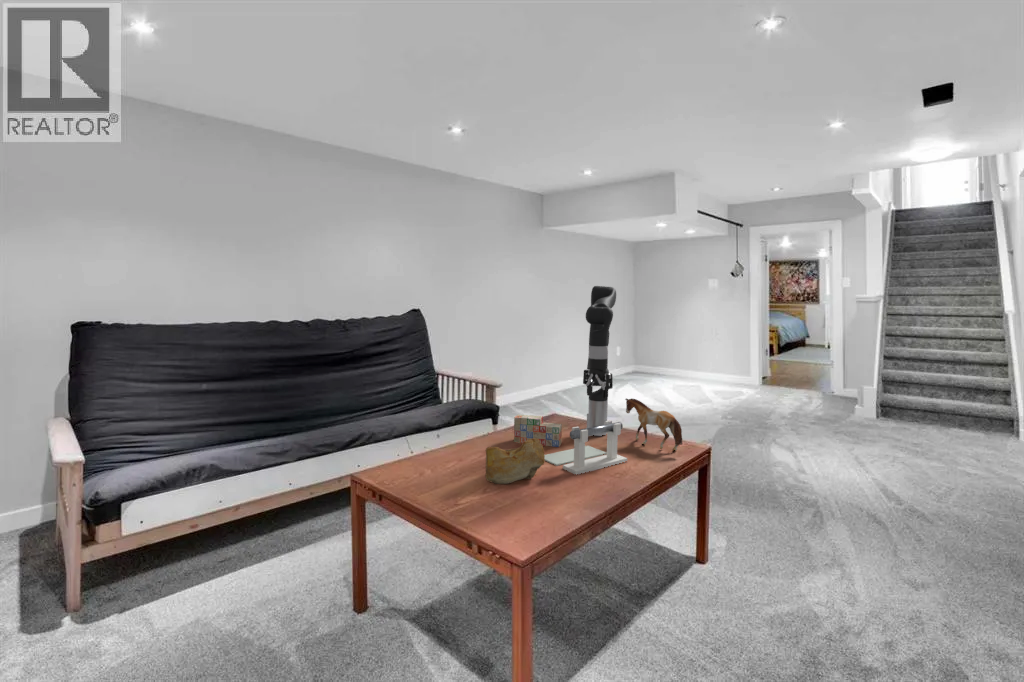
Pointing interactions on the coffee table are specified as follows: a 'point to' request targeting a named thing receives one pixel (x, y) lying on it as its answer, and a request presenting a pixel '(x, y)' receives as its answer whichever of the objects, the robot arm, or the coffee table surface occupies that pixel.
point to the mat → (571, 455)
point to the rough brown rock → (514, 462)
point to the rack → (597, 462)
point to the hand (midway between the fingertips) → (597, 397)
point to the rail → (594, 430)
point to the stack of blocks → (536, 430)
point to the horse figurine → (655, 421)
